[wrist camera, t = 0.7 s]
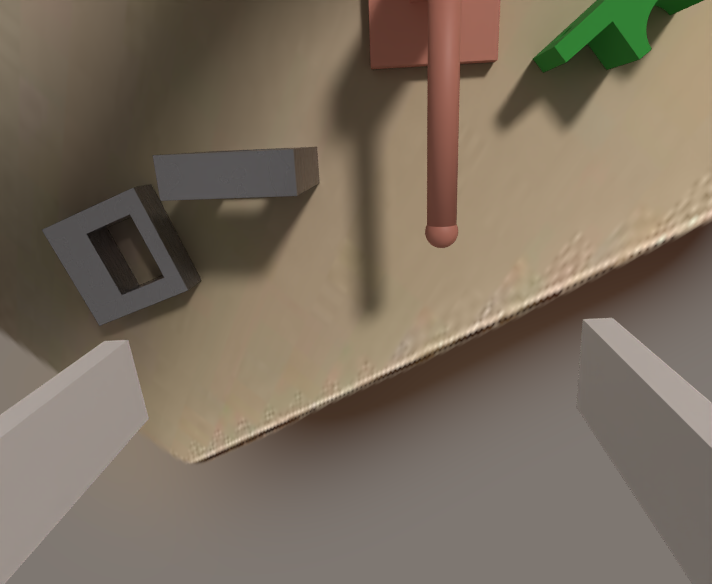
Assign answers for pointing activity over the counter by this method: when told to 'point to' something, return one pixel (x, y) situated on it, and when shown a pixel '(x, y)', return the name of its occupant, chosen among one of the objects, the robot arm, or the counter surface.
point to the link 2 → (236, 173)
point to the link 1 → (105, 262)
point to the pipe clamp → (608, 32)
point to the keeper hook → (436, 80)
